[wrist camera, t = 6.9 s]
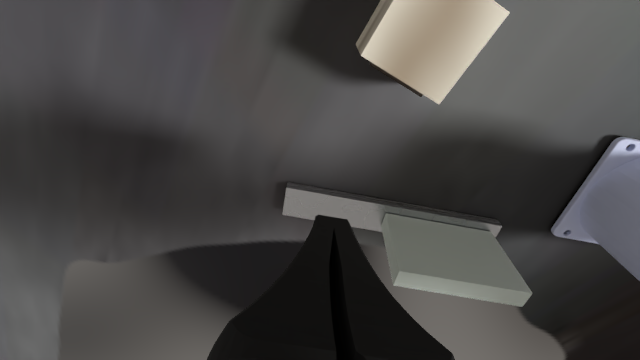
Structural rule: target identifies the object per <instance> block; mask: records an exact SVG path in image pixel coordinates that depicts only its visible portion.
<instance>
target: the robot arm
mask: <svg viewBox="0 0 640 360" xmlns="http://www.w3.org/2000/svg"><path fill="white" fill-rule="evenodd" d="M628 145H630V146H629V147H628V148H626V147H627V146H628ZM565 231H566V232H565ZM551 232H552V233H553V234H554V235H555V236H557V237H563V238H568V239H574V240H580V241H585V242H591V243H596V244H600V245H601V246H602V247H603V248H604V249H605V250H606V251H607V252H609V253H610V254H611V255H612V256H613V257H614V258H615V259H616V260H617V261H618V262H619V263H620V264H622V265H623V266H624V267H625V268H626V269H627V270H628V271H629V272H630V273H631V274H632V275H634V276H635V277H636V278H637V279H638V280H639V281H640V140H638V139H632V138H627V137H619V138H616V139H615V140H614V141H613V142H612V143H611V144H610V146H609V147H608V148H607V150H606V151H605V153H604V154H603V156H602V157H601V158H600V160H599V161H598V163H597V164H596V166H595V167H594V168H593V170H592V171H591V173H590V174H589V175H588V177H587V178H586V180H585V181H584V183H583V184H582V185H581V187H580V188H579V190H578V191H577V193H576V194H575V195H574V197H573V198H572V200H571V201H570V202H569V204H568V205H567V207H566V208H565V210H564V211H563V212H562V214H561V215H560V217H559V218H558V220H557V221H556V222H555V224H554V225H553V227H552V228H551ZM207 360H455V359H454V356H453V354H452V353H451V352H450V351H449V350H448V349H446V348H445V347H444V346H443V345H442V344H440V343H439V342H438V341H437V340H436V339H435V338H433V337H432V336H431V335H430V334H429V333H428V332H426V331H425V330H424V329H423V328H422V327H421V326H420V325H419V324H418V323H417V322H416V321H415V320H414V319H413V318H412V317H411V316H410V315H409V314H408V313H407V312H406V311H405V310H404V309H403V307H402V306H401V305H400V304H399V303H398V302H397V301H396V300H395V299H394V297H393V296H392V295H391V294H390V292H389V291H388V290H387V289H386V287H385V286H384V284H383V283H382V282H381V280H380V279H379V277H378V276H377V274H376V273H375V271H374V270H373V268H372V266H371V265H370V263H369V262H368V260H367V258H366V256H365V255H364V253H363V251H362V249H361V247H360V245H359V243H358V241H357V239H356V237H355V235H354V232H353V230H352V228H351V225H350V223H349V221H348V220H347V219H342V218H336V217H330V216H324V215H317V216H315V220H314V224H313V227H312V229H311V232H310V234H309V236H308V238H307V239H306V241H305V243H304V245H303V247H302V248H301V250H300V251H299V252H298V254H297V256H296V257H295V258H294V260H293V261H292V263H291V264H290V265H289V266H288V268H287V269H286V270H285V271H284V272H283V274H282V275H281V276H280V277H279V278H278V279H277V280H276V281H275V283H274V284H273V285H272V286H271V287H270V288H269V289H268V290H267V291H265V292H264V293H263V294H262V295H261V296H260V297H259V298H258V299H257V300H256V301H254V302H253V303H252V304H251V305H250V306H249V307H247V308H246V309H245V310H243V311H242V312H241V313H239V314H238V315H237V316H235V317H234V318H233V319H231V320H230V321H229V323H228V324H227V325H226V327H225V328H224V330H223V331H222V333H221V334H220V336H219V337H218V339H217V341H216V342H215V344H214V346H213V348H212V350H211V352H210V354H209V356H208V358H207Z"/></svg>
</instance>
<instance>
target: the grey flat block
mask: <svg viewBox="0 0 640 360" xmlns="http://www.w3.org/2000/svg"><path fill="white" fill-rule="evenodd" d="M381 228H382V233H383V238H384V243H385V248H386V253H387V258H388V262H389V268H390V272H391V277H392V282H393V285H394V286H400V287H406V288H412V289H418V290H424V291H430V292H436V293H443V294H448V295H454V296H461V297H467V298H472V299H478V300H484V301H491V302H497V303H503V304H509V305H515V306H521V307H522V306H523V305H524V304H525V303H526V301H527V300H528V299H529V297H530V296H531V295H532V292H531V290H530V289H529V287H528V286H527V284H526V283H525V281H524V280H523V278H522V277H521V275H520V274H519V272H518V271H517V270H516V268H515V267H514V265H513V264H512V262H511V261H510V259H509V258H508V256H507V255H506V253H505V252H504V250H503V249H502V247H501V246H500V244H499V243H498V241H497V240H496V238H495V237H494V235H493V234H492V232H489V231H483V230H477V229H472V228H466V227H461V226H455V225H449V224H444V223H438V222H432V221H427V220H421V219H415V218H410V217H404V216H399V215H393V214H387V213H386V214H385V217H384V219H383V222H382V225H381Z"/></svg>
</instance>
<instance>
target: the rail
mask: <svg viewBox="0 0 640 360" xmlns="http://www.w3.org/2000/svg"><path fill="white" fill-rule="evenodd" d="M386 213H387V214H393V215H399V216H404V217H410V218H415V219H421V220H427V221H432V222H438V223H444V224H449V225H455V226H461V227H466V228H472V229H477V230H483V231H489V232H492V234H493V235H494V237H495V238H496V236H497V234H498V233H499V231H500V229H501V228H502V225H501V224H500V222H499V221H498V220H497V219H491V218H486V217H480V216H475V215H469V214H464V213H458V212H452V211H447V210H441V209H436V208H430V207H425V206H419V205H414V204H408V203H402V202H397V201H391V200H386V199H380V198H375V197H369V196H363V195H358V194H352V193H347V192H341V191H336V190H330V189H325V188H319V187H313V186H308V185H302V184H297V183H291V182H288V183H287V187H286V193H285V200H284V207H283V213H282V215H287V216H293V217H299V218H304V219H310V220H315V216H317V215H324V216H330V217H336V218H342V219H347V220H348V221H349V223H350V225H351V227H356V228H362V229H367V230H373V231H379V232H382V228H381V225H382V222H383V219H384V217H385V214H386Z"/></svg>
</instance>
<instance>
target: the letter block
mask: <svg viewBox="0 0 640 360" xmlns="http://www.w3.org/2000/svg"><path fill="white" fill-rule="evenodd" d="M509 13H510V12H508V11H507V10H506V9H504V8H503V7H502V6H500V5H499V4H498V3H496V2H495V1H494V0H380V2H379V4H378V6H377V7H376V9H375V11H374V13H373V14H372V16H371V18H370V20H369V21H368V23H367V25H366V27H365V28H364V30H363V32H362V34H361V35H360V37H359V39H358V41H357V42H356V46H357V49H358V51H359V53H360V55H361V56H362V57H364V58H365V59H367V60H369V61H370V65H371V66H372V67H373V68H375V69H377V70H378V71H380V72H382V73H383V74H385V75H386V76H388V77H390V78H391V79H393V80H394V81H396V82H398V83H399V84H401V85H402V86H404V87H406V88H407V89H409V90H411V91H412V92H414V93H415V94H417V95H419V96H420V97H422V95H425V96H426V97H428V98H430V99H431V100H433V101H434V102H436V103H438V104H440V103H441V101H442V100H443V99H444V98H445V96H446V95H447V94H448V92H449V91H450V90H451V88H452V87H453V86H454V85H455V83H456V82H457V81H458V79H459V78H460V77H461V75H462V74H463V73H464V72H465V70H466V69H467V68H468V66H469V65H470V64H471V63H472V61H473V60H474V59H475V57H476V56H477V55H478V53H479V52H480V51H481V50H482V48H483V47H484V46H485V44H486V43H487V42H488V40H489V39H490V38H491V37H492V35H493V34H494V33H495V31H496V30H497V29H498V27H499V26H500V25H501V24H502V22H503V21H504V20H505V18H506V17H507V16H508V15H509Z"/></svg>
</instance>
